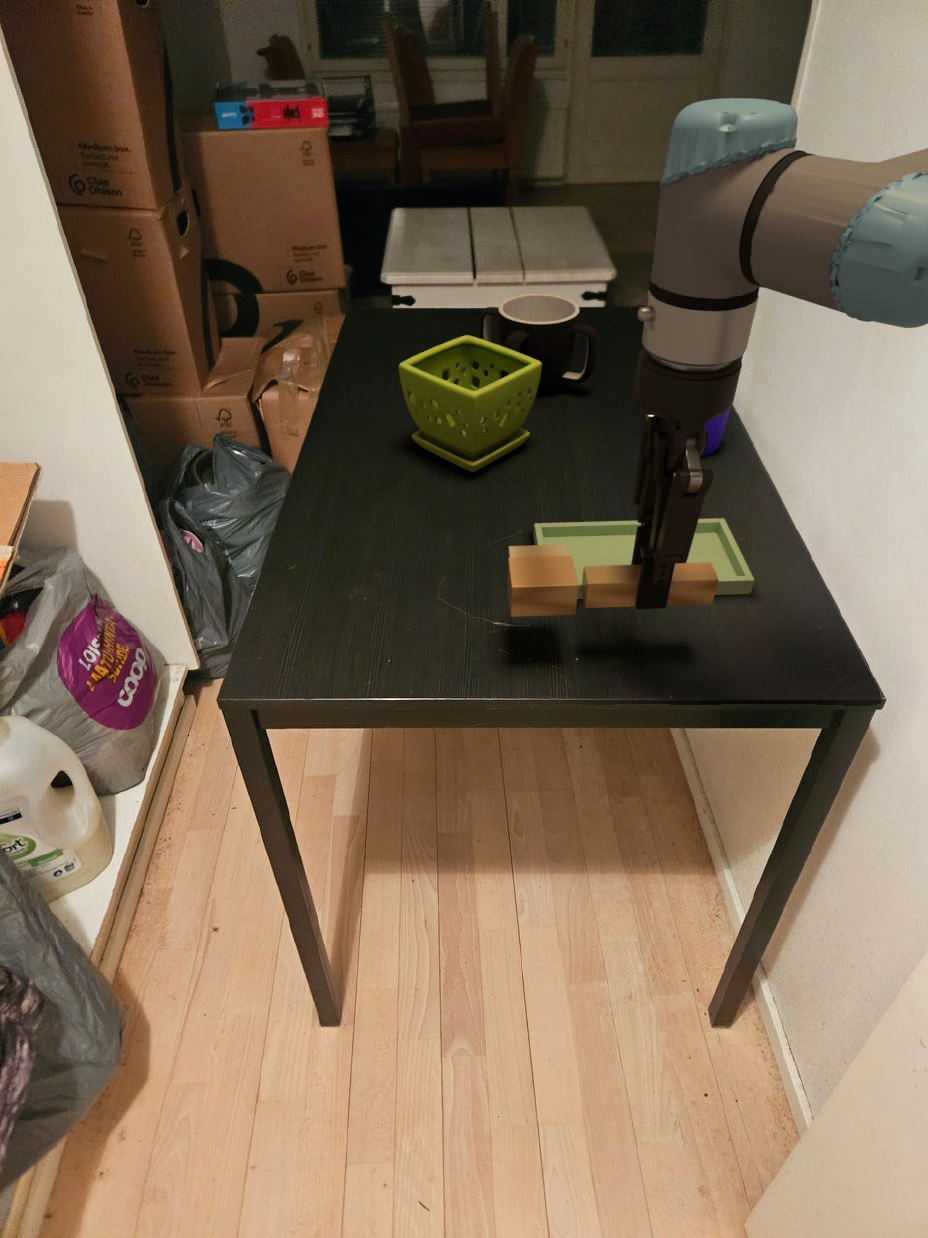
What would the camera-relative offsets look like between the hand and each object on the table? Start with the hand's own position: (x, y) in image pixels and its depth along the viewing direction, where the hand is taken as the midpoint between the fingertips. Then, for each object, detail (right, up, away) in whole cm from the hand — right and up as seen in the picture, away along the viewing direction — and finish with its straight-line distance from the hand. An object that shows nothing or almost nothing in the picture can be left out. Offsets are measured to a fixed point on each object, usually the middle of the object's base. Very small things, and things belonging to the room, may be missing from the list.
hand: (646, 594), depth 72 cm
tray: (+2, +4, +15) cm, 16 cm away
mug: (-6, +35, +50) cm, 61 cm away
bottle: (+15, +22, +35) cm, 44 cm away
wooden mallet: (-4, 0, +1) cm, 4 cm away
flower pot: (-16, +21, +35) cm, 44 cm away
